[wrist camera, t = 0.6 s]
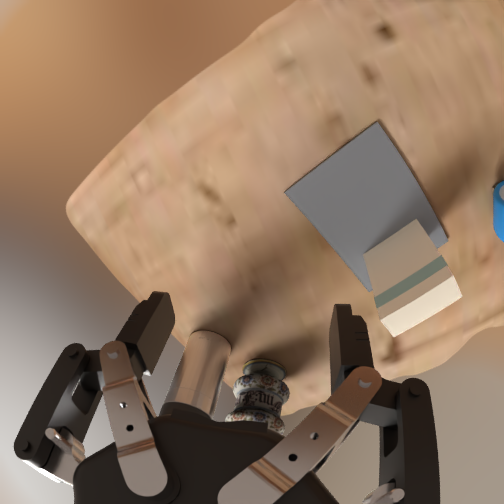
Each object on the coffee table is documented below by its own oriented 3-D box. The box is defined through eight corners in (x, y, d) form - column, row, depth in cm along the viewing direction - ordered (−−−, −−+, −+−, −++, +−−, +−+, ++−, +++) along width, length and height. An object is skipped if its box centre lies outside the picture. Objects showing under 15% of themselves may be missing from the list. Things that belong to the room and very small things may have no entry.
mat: (447, 239, 39) (448, 240, 39) (368, 290, 47) (369, 292, 46) (376, 121, 33) (377, 122, 32) (284, 191, 40) (284, 192, 40)
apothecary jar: (227, 362, 63) (208, 433, 48) (273, 349, 58) (261, 428, 43) (256, 389, 67) (244, 454, 52) (300, 378, 62) (295, 449, 47)
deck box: (427, 237, 39) (462, 296, 28) (375, 271, 44) (393, 337, 32) (416, 218, 38) (453, 274, 26) (362, 254, 43) (379, 320, 31)
